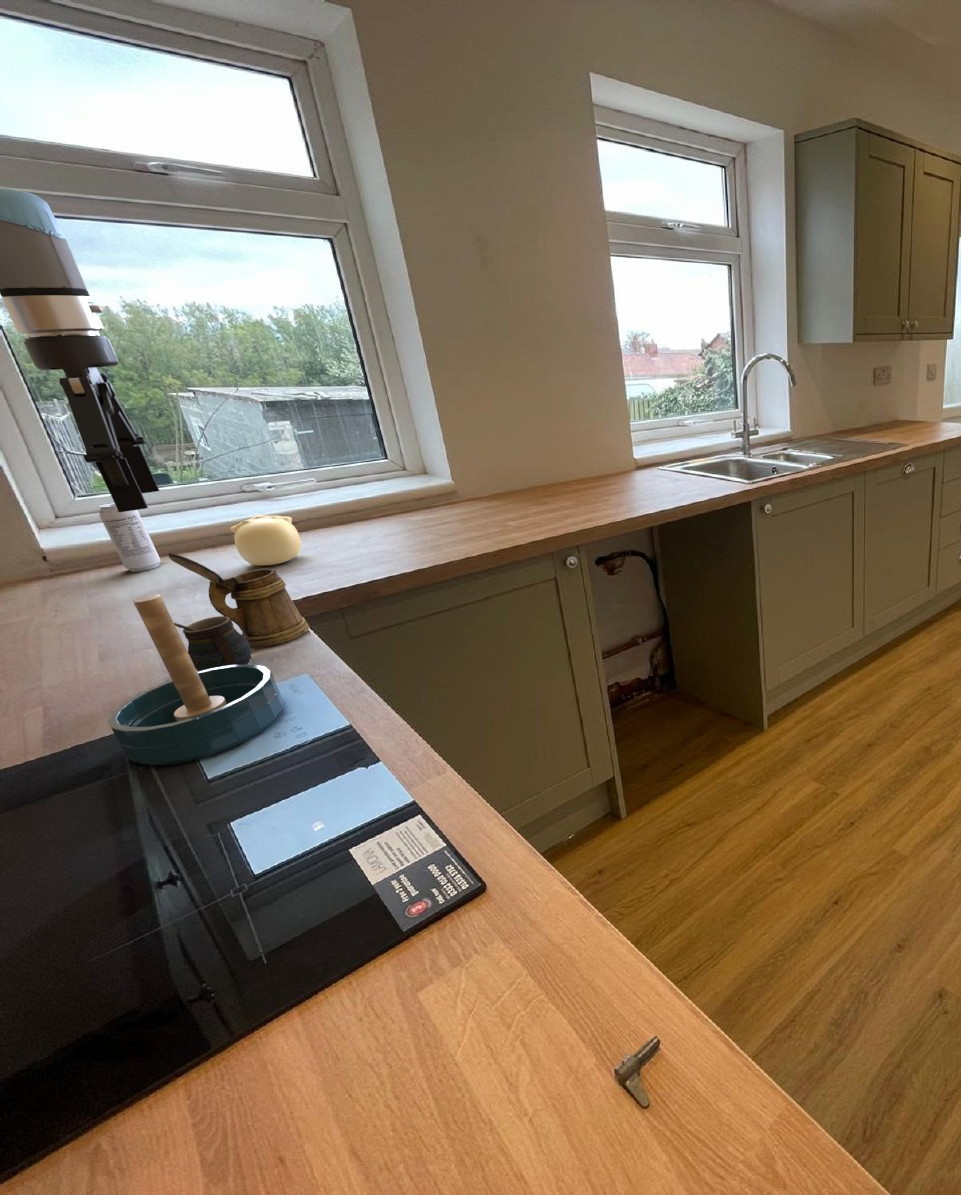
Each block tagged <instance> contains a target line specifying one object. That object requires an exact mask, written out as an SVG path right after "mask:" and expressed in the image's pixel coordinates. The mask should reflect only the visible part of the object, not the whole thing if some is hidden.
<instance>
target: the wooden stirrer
mask: <svg viewBox="0 0 961 1195" xmlns="http://www.w3.org/2000/svg"><path fill="white" fill-rule="evenodd" d="M132 602H133V605H134V606H135V608H136V611H137V613H138V614H139V616H140V618H141V621H142V622H143V624H144V626H145V629H146V631H147V632H148V634H149V637H150V639H151V640H152V642H153V645H154V646H155V648H156V650H157V653H158V654H159V657H160V658H161V661H162V663H163V665H164V666H165V669H166V670H167V673H168V675H169V677H170V680H172V681H173V683H174V685H175V687H176V689H177V691H178V693H179V695H180V697H181V699H182V701H183V703H184V705H183V706H181V707H180V708H178V709H177V710H176V711H175V712H174V716H175V718H176V720H177V722H178V721H182V720H186V719H189V718H193V717H197V716H199V715H202V714H205V713H207V712H210V711H213V710H215V709H218V708H221V707H223V706H225V705H227V702H226V700H225V698H224V697H222V696H208V694H207V691H206V689H205V687H204V685H203V683H202V681H201V679H200V677H199V675H198V673H197V672H198V671H197V670H196V668H195V666H194V664H193V662H192V660H191V658H190V656H189V654H188V649H187V647H186V646H185V644H184V641H183V639H182V638H181V636H180V633H179V630H178V629H177V626H175V624H174V623H175V622H174V620H173V618H172V616H171V615H170V614H171V613H170V612H169V610H168V607H167V606H166V604H165V602H164V599H163V597H162V595H161V594H160V593H159V594H158V593H157V594H148V595H144V596H140V597H138V598H135V599H134V600H133V601H132Z"/></svg>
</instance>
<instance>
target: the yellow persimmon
mask: <svg viewBox="0 0 961 1195" xmlns="http://www.w3.org/2000/svg"><path fill="white" fill-rule="evenodd" d="M292 522H293V518H292V517H291V516H282V515H265V514H258V515H255V516H253V517H251V518H249V519H245V520H242V521H241V522H239V523H238V524H236V525H233V526H231V527H230V531H231V532H232V533H234V537H233V538H234V539H233V541H234V545H235V548H236V550H237V552H238V554H239V556H240V557H241V558H242V560H244V561H245V562H246V563H247V564H250V565H253V566H272V565H273V566H274V565H278V564H282V563H285V562H288V561H291V560H293V559H295V558H296V557H298V556H299V554H300V553H301V550H302V542H301V537H300V534H299V532H298V529H297V528H296V527H295V526H294V525H293V524H292Z"/></svg>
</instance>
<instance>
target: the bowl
mask: <svg viewBox="0 0 961 1195" xmlns="http://www.w3.org/2000/svg"><path fill="white" fill-rule="evenodd" d="M197 673H198V675H199V677H200V679H201V681H202V683H203V685H204V687H205V689H206V691H207V694H208V696H222V697H224V698H225V700H226V702H227V705H225V706H223V707H221V708H218V709H215V710H213V711H210V712H207V713H205V714H202V715H199V716H197V717H193V718H189V719H186V720H182V721H178V722H177V720H176V718H175V716H174V712H175V711H176V710H177V709H178V708H180V707H181V706H183V705H184V703H183V701H182V699H181V697H180V695H179V693H178V691H177V689H176V687H175V685H174V683H173V681H172V679H170V680H167V681H164V682H162V683H159V684H158V685H155V686H153V687H151V688H148V689H146V690H144V691H142V692H140V693H139V694H136V695H135V696H133V697H131V698H130V699H127V700H126V701H125V702H123V703H122V704H121V705H120V706H118V707H117V708H116V709H115V710H113V711H111V714H110V716H109V718H108V719H107V724H108V726H109V727H110V729H111V731H112V732H113V734H114V736H115V738H116V739H117V741H118V743H119V746H121V748H122V751H123V752H124V754H125V756H126V757H127V759H128V760H129V761H130V762H134V763H137V764H141V765H149V766H172V765H179V764H184V763H189V762H193V761H197V760H200V759H204V758H207V757H210V756H214V755H216V754H220V753H222V752H225V751H227V750H229V749H232V748H234V747H236V746H238V745H240V744H243V743H244V742H246V741H248V740H250V739H252V738H253V737H255V736H257V735H258V734H260V733H261V732H262V731H264V730H265V729H266V728H268V727H269V726H270V725H271V724H273V723H274V722H275V720H276V719H277V717H278V715H279V713H280V712H281V711H282V710H283V708H284V706H283V705H284V699H283V696H282V694H281V692H280V690H279V687H278V685H277V683H276V680H275V678H274V675H273V674H272V671H271V669H269V668H267V667H266V666H265V665H260V664H255V663H248V664H239V665H229V666H223V667H216V668H211V669H207V670H203V671H199V672H198V671H197Z"/></svg>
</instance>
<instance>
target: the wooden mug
mask: <svg viewBox="0 0 961 1195" xmlns="http://www.w3.org/2000/svg"><path fill="white" fill-rule="evenodd" d="M168 558H169V559H170V560H171V561H172V562H174V563H175V564H177V565H179V566H181V567H183V568H184V569H187V570H188V571H191V572H193V573H194V574H197V575H199V576H201V577H202V578H204V579H207V581H209V586H208V599H209V602H210V604H211V606H212V607H213V608H214V610H215V611H216V612H217V613H219V614H220V615H221V616H226V617H229V618H231V621H232V623H233V624H236V626H238V628H239V629H240V631H241V635H242V636H243V637H245V639H246V640H247V641H248V643H249V644H250V648H251V649H252V648H257V649H258V648H260V649H261V648H268V647H273V646H277V645H278V646H279V645H282V644H284V643H285V644H286V643H287V642H290V641H293V640H296V639H298V638H300V637H301V636H303V635H304V634H306V633H307V632H308V631H309V629H310V625H309V624H308V622H307V621H306V619H305V617H304V616H302V615H301V614H300V612H299V610H298V608H297V607H296V605H295V603H294V601H293V599H292V598H291V595H290V594H289V593H288V591H287V589H286V586H287V584H286V582H285V580H284V579H283V577H281V576H280V575H279V574H278V572H277V571H276V569H274V568H259V569H254V570H250V571H247V572H243V573H241V574H237V575H236V576H229V577H225V578H222V576H221V575H220V574H218V573H217V572H216V571H214V570H212V569H210V568H209V567H207V566H205V565H203V564H201V563H199V562H197V561H195V560H192V559H190V558H187V557H186V556H182V555H180V554H176V553H171V552H169V553H168ZM229 594H230V598H231V599H232V600H235V606H236V607H231V606H229V605H228V604H227V602H226V597H227V595H229Z"/></svg>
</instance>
